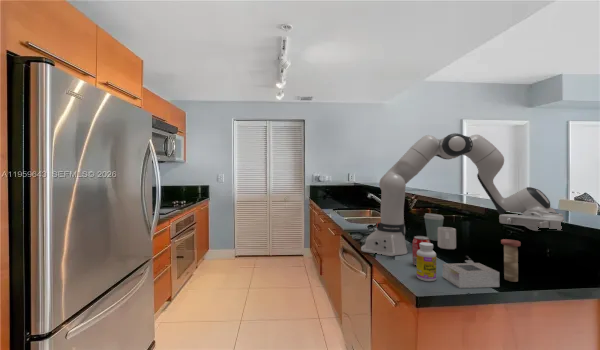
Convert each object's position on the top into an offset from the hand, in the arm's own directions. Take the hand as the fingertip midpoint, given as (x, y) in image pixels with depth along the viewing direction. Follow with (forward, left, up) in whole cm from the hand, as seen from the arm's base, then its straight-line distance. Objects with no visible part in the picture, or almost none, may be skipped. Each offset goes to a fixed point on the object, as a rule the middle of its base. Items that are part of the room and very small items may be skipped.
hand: (523, 223), depth 107 cm
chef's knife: (-17, +6, -20) cm, 27 cm away
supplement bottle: (-34, -22, -19) cm, 45 cm away
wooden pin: (-6, -11, -19) cm, 23 cm away
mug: (-25, +29, -19) cm, 43 cm away
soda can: (-36, -7, -19) cm, 42 cm away
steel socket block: (-20, -19, -19) cm, 34 cm away
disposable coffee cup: (-31, +47, -19) cm, 59 cm away
